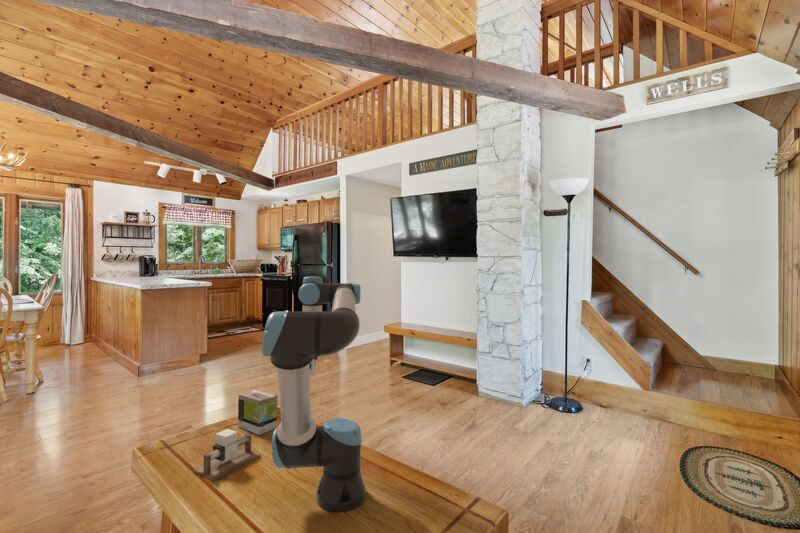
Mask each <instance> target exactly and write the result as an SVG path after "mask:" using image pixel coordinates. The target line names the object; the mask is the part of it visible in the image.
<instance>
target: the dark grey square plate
mask: <svg viewBox="0 0 800 533" xmlns="http://www.w3.org/2000/svg"><path fill="white" fill-rule="evenodd" d="M217 448H218V449H220V450H221V457H218V458H215V459H216V460H219V461H224V460H225V447H224V446H221V445H218V444H212V452H213V451H215V450H216V449H217Z"/></svg>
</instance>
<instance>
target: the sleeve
mask: <svg viewBox="0 0 800 533" xmlns="http://www.w3.org/2000/svg"><path fill="white" fill-rule="evenodd" d="M238 435H239V432H238V431H236V430H233V429H230V428H226V429H223V430H221V431H219V432H217V433H215V436H214V438H215V439H214V440H215V442H214V443H215V444H218V445H221V446H224V447H225V460H224V461H225V462H226V461H228V460H230V459H231V458H233V457H235V456H237V442H238V439H239V438H238ZM215 444H214V445H215ZM217 449H218V448H217ZM220 457H221V456H220Z"/></svg>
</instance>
